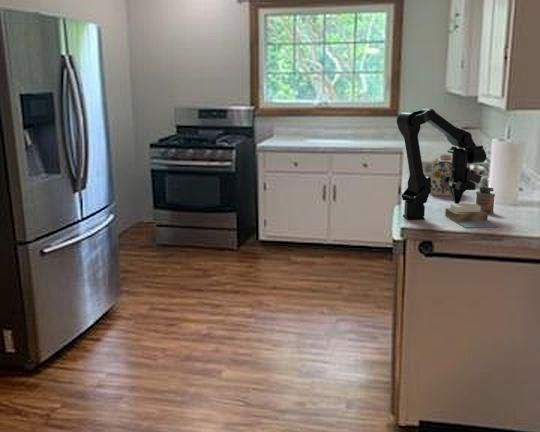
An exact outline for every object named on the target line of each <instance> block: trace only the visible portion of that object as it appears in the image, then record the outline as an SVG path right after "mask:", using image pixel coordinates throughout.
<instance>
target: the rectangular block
mask: <svg viewBox="0 0 540 432" xmlns="http://www.w3.org/2000/svg"><path fill="white" fill-rule="evenodd" d="M450 208H451V209H452V210H453V211H455V212H480V210H481V206H479V205H477V204H476V202H475V203H474V202H470V203H469V202H467V203H466V202H465V203H462V202H460V203H459V204H455V203H450Z"/></svg>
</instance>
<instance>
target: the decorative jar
mask: <svg viewBox="0 0 540 432" xmlns="http://www.w3.org/2000/svg"><path fill="white" fill-rule="evenodd" d="M450 166H452V154H449V153H448V154H446V153H445V154H440V157H436V158H433V159H432V162H431V174H430V179H431V186H432V188H431V193H430V194H429V196H444V197H445V196H446V197H452V195H451V192H450V190H449V188H448V185H450V182H446V183H442V178H443V177H444V176H445V175H451V169H450Z"/></svg>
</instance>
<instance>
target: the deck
mask: <svg viewBox="0 0 540 432" xmlns="http://www.w3.org/2000/svg"><path fill="white" fill-rule="evenodd" d="M444 216H445V217H446V218H448V219H449V220H451V221H452V222H454V223H456V222H455V221H488V217H489V214H488V213H486V212H484V211H482V210H480V212H455V211H453V210H452V209H451V207H450V208H448V207H447V208H445V214H444Z"/></svg>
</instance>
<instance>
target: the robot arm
mask: <svg viewBox="0 0 540 432" xmlns="http://www.w3.org/2000/svg"><path fill="white" fill-rule="evenodd" d="M426 123H428V124H429V125H430V126H432V127H434V128H435V129H436V130H438V131H439V132H441V133H442V134H443V135H445V137H446V139H447V141H448V142H449V144H451V145H452V146H451V147H450V148H449V149H448V150H447V153H448V154H451V158H452V166H450V169H451V175H445V176H444V177H443V178H442V183H446V182H450V185H448V188H449V190H450V192H451V195H452V196H451V197H452V201H453V202H454V204H461V201H462V200H461V199H462V197H463V195H464V193H465V192H466V191H476V189H477V185H476V184H478V185H479V184H480V182H481V180H482V178H483V176H482V175H481V174H477V173H476V171H475V170H474V169H471V168H470V167H468V164H471V165H472V164H473V165H474V164H482V163H483V164H484V163H485V162H486V160H487V155H488V154H487V153H486V150H485V149H484V145H480V144H477V145H476V143H475V142H474V139H473V136H472V133H471V132H469V131H467V130H465V129H462V128H459V127H457V126H456V125H453V124H452V123H450V122H449V121H448V120H447V119H446V118H444V117H442V116H441V115H440V114H439V113H437V112H436V110H434V109H432V108H423V109H420V110H416V111H410V112H408V111H407V112H405V111H403V112H400V113H399V114H398V116H397V117H396V124H397V125H396V126H397V128H398V131H399V132H400V134H401V135H402V138H403V139H404V144H405V145H404V147H405V151H406V157H407V164H408V171H409V177H408V179H407V188H406V189H405V190H404V192H402V194H401V199H402V201H404V211H403V212H404V214H402V217H403V218H405V219H407V220H425V212H426V211H425V210H426V209H425V207H426V206H425V205H424V204H426V203H427V202H428V199H429V197H430V193H431V188H432V186H431V176H426V174H425V173H424V168H423V163H422V160H423V159H422V154H421V148H420V141H419V133H420V131H421V125H423V124H426ZM457 147H458V148H457ZM475 183H476V184H475Z"/></svg>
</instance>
